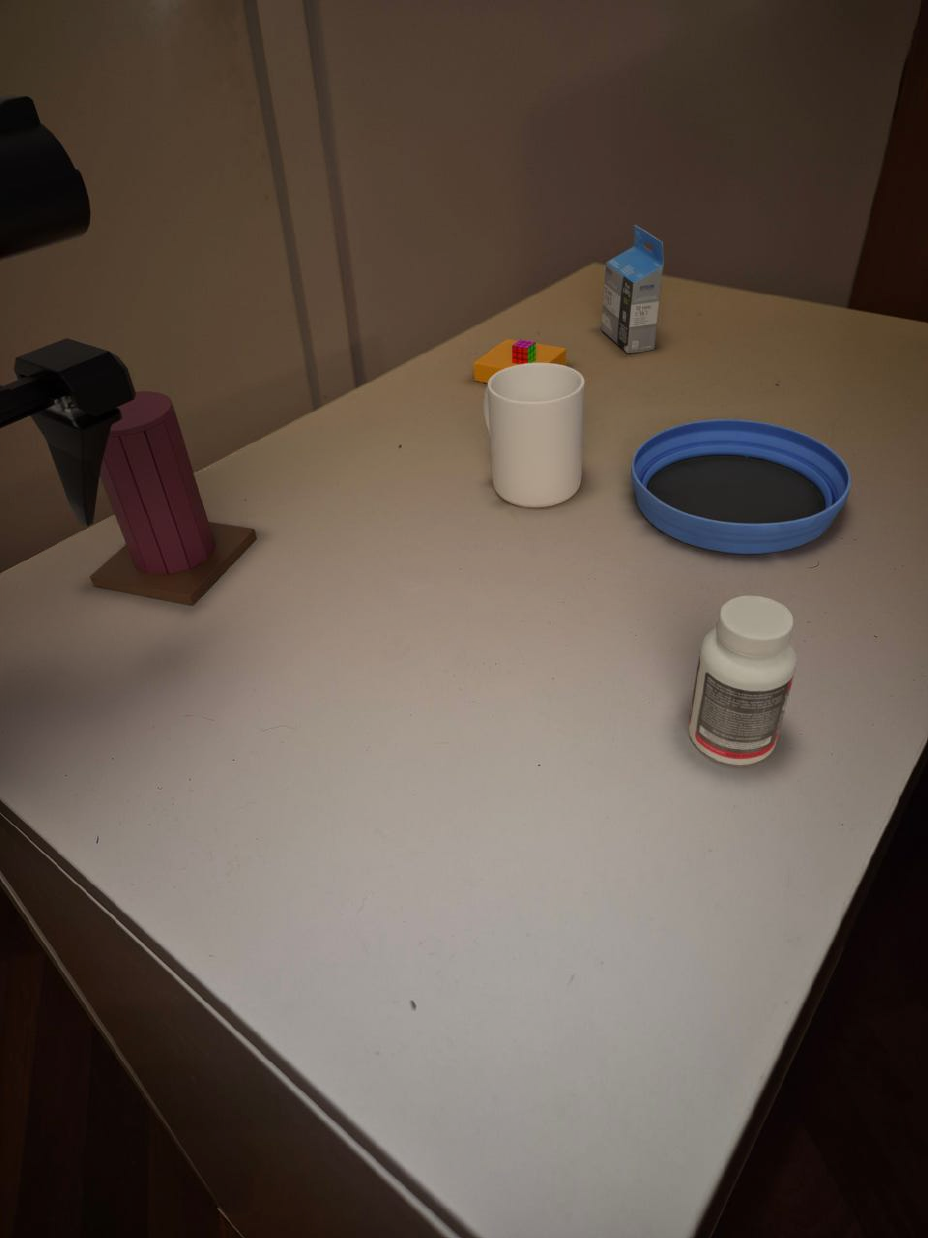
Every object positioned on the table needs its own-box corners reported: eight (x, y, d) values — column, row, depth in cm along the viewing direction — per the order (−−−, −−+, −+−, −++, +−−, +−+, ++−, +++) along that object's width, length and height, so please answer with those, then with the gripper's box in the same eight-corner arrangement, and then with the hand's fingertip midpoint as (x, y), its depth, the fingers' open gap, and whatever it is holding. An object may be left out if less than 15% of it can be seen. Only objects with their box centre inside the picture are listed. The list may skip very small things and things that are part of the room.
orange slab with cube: (473, 380, 97) (471, 345, 94) (507, 355, 102) (506, 321, 99) (534, 392, 93) (534, 355, 91) (566, 366, 99) (567, 330, 96)
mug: (454, 468, 81) (446, 366, 75) (523, 442, 85) (521, 342, 78) (526, 520, 73) (524, 411, 67) (600, 490, 76) (604, 383, 70)
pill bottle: (792, 757, 51) (826, 636, 45) (710, 776, 50) (734, 656, 44) (749, 697, 55) (775, 579, 49) (673, 714, 54) (690, 596, 48)
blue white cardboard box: (599, 330, 107) (604, 227, 99) (629, 325, 107) (636, 223, 100) (626, 355, 100) (633, 247, 92) (657, 350, 101) (667, 242, 93)
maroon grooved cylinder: (220, 561, 70) (177, 417, 61) (137, 583, 68) (81, 438, 60) (208, 521, 75) (166, 384, 66) (130, 541, 73) (77, 402, 65)
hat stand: (192, 605, 67) (171, 542, 63) (92, 586, 70) (66, 524, 66) (257, 538, 74) (241, 477, 70) (164, 522, 77) (143, 464, 73)
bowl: (587, 499, 75) (588, 464, 73) (718, 434, 83) (722, 401, 81) (751, 589, 64) (758, 551, 62) (885, 504, 72) (896, 467, 69)
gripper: (-15, 225, 49) (79, 460, 59) (-396, 329, 38) (-202, 596, 48) (93, 248, 44) (177, 503, 54) (-316, 377, 33) (-116, 668, 43)
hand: (19, 559), depth 50 cm, fingers open, 9 cm apart
